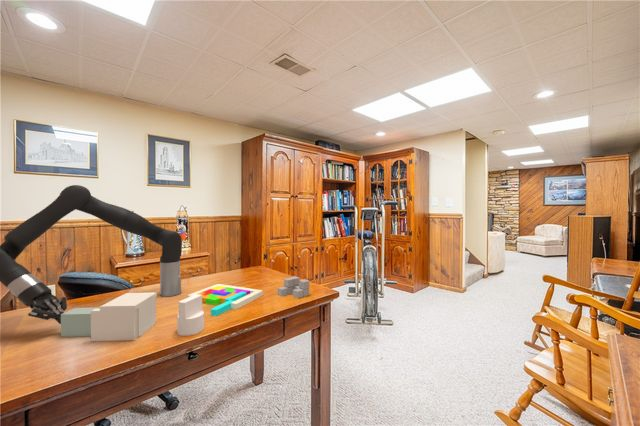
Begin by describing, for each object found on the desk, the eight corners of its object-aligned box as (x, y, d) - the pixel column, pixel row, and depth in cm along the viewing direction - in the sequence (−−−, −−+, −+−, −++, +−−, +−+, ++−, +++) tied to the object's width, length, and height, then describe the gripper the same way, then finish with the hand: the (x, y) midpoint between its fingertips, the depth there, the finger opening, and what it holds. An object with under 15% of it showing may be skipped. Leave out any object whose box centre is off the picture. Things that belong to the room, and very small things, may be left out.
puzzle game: (218, 288, 150) (170, 307, 123) (218, 283, 150) (170, 301, 123) (263, 296, 139) (221, 318, 111) (263, 290, 139) (221, 311, 111)
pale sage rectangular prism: (61, 336, 94) (60, 314, 93) (75, 329, 100) (75, 307, 99) (97, 335, 95) (96, 313, 94) (109, 328, 101) (108, 307, 100)
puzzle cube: (277, 295, 140) (277, 280, 140) (295, 290, 148) (295, 276, 148) (290, 301, 131) (291, 285, 131) (309, 295, 139) (309, 280, 139)
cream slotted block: (91, 341, 91) (90, 306, 90) (118, 323, 105) (118, 293, 104) (135, 340, 92) (135, 305, 92) (157, 322, 106) (156, 292, 106)
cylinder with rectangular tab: (190, 323, 105) (190, 293, 105) (209, 326, 103) (209, 295, 103) (171, 333, 97) (171, 301, 96) (191, 337, 94) (191, 303, 94)
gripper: (18, 287, 89) (58, 323, 90) (54, 277, 102) (88, 308, 103) (1, 303, 89) (41, 339, 90) (39, 291, 102) (74, 322, 103)
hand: (66, 322), depth 97 cm, fingers closed
